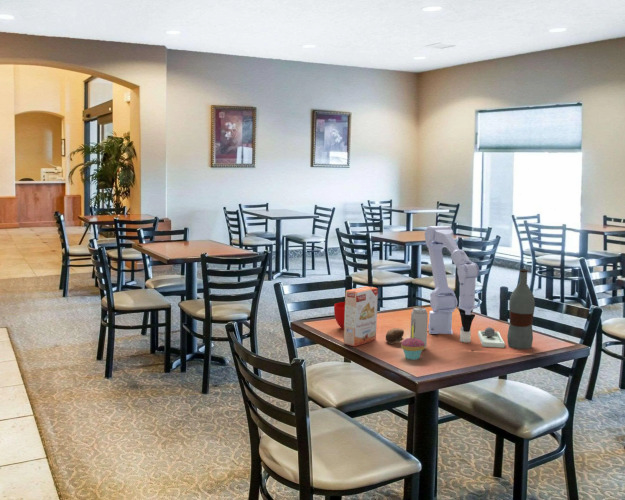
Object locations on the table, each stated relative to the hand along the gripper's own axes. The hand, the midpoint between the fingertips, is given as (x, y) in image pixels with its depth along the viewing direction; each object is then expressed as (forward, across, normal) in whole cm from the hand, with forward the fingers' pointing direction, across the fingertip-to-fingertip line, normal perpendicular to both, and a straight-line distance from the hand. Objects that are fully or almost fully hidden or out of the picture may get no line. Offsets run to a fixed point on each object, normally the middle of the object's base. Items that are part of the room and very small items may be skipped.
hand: (465, 329), depth 251 cm
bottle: (+6, -3, -20) cm, 21 cm away
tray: (+5, +3, -10) cm, 12 cm away
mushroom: (+6, -6, +27) cm, 28 cm away
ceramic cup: (+5, +14, +45) cm, 48 cm away
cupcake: (+6, -25, +20) cm, 32 cm away
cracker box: (+6, -8, +40) cm, 41 cm away
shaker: (+5, 0, 0) cm, 5 cm away
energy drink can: (+6, -12, +18) cm, 22 cm away
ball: (+5, +8, -10) cm, 14 cm away
